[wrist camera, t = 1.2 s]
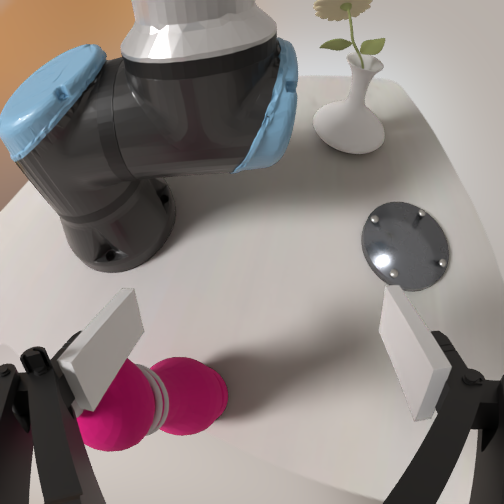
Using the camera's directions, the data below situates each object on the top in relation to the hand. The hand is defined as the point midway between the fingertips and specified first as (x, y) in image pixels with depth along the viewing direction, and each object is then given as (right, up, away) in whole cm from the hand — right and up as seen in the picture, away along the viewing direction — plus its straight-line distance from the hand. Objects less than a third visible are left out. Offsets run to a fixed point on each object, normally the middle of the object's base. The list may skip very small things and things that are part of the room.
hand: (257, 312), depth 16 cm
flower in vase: (+14, +21, +31) cm, 40 cm away
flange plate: (+19, +4, +21) cm, 29 cm away
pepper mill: (-6, -11, +14) cm, 19 cm away
